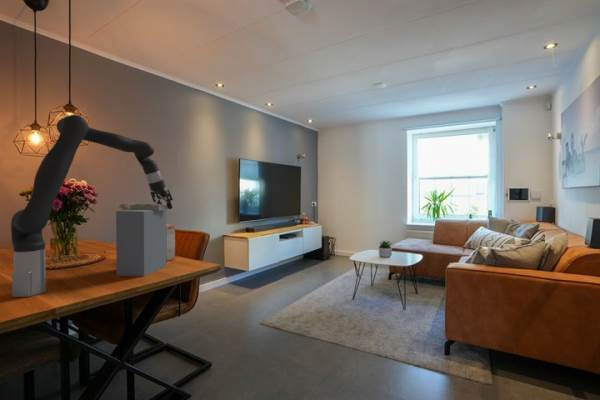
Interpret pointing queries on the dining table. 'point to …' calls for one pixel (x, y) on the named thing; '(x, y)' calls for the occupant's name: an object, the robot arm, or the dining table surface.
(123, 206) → the striped beige bar
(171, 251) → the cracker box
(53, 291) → the dining table surface
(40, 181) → the robot arm
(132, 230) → the chute stand
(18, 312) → the dining table surface
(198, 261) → the dining table surface
